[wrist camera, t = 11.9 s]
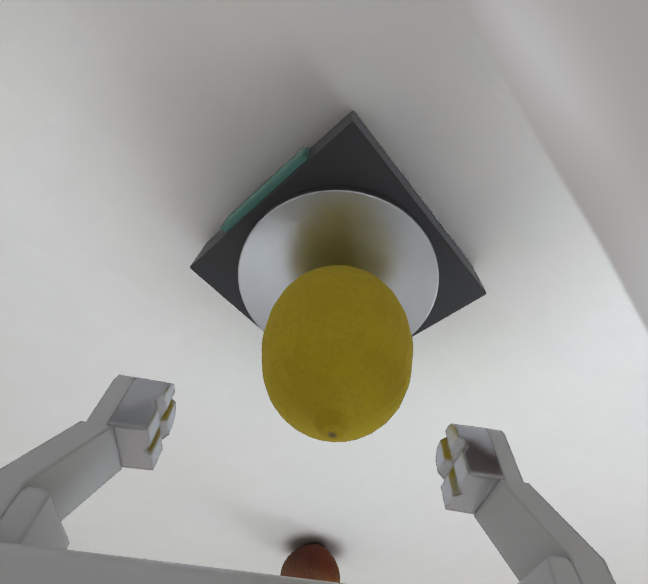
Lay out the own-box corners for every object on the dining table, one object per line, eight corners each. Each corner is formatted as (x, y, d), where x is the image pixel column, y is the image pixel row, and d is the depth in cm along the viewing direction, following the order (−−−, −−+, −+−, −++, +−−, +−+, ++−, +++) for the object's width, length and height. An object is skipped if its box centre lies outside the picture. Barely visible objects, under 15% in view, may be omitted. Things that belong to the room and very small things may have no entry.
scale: (201, 239, 21) (183, 263, 19) (348, 103, 17) (347, 114, 15) (329, 355, 25) (326, 386, 23) (473, 266, 21) (487, 294, 19)
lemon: (255, 282, 18) (200, 425, 12) (346, 207, 16) (341, 329, 9) (335, 352, 20) (326, 507, 14) (425, 293, 18) (468, 445, 11)
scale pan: (200, 269, 19) (196, 275, 18) (351, 136, 15) (351, 140, 15) (327, 379, 22) (326, 387, 22) (474, 293, 19) (478, 300, 18)
